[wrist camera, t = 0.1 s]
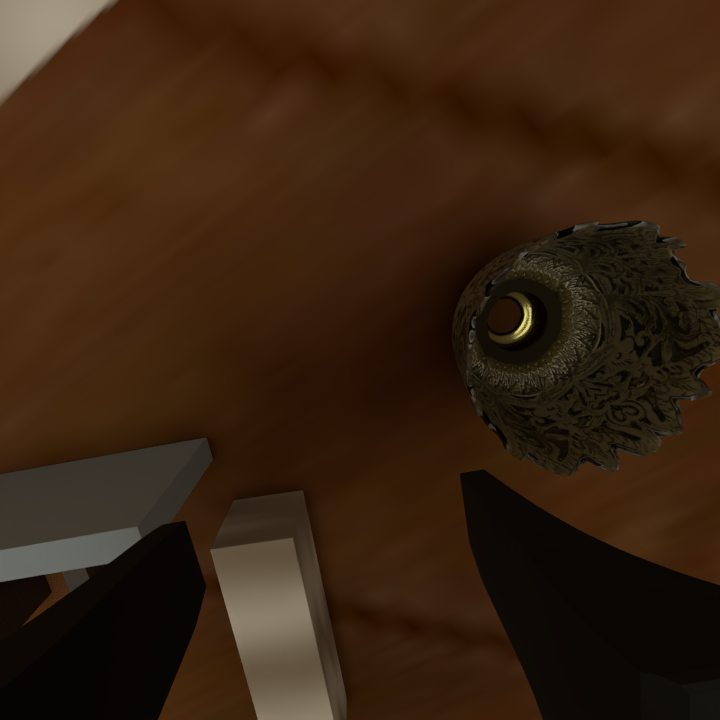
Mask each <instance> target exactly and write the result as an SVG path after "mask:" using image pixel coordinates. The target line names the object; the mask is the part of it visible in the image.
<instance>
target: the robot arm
mask: <svg viewBox="0 0 720 720" xmlns="http://www.w3.org/2000/svg"><path fill="white" fill-rule="evenodd" d="M460 477H461V484H462V492H463V499H464V506H465V514H466V521H467V528H468V536H469V542H470V546H471V549H472V552H473V555H474V558H475V561H476V564H477V567H478V570H479V573H480V576H481V579H482V581H483V583H484V586H485V588H486V590H487V592H488V594H489V596H490V599H491V601H492V603H493V605H494V607H495V609H496V612H497V614H498V616H499V618H500V620H501V622H502V624H503V627H504V629H505V631H506V633H507V635H508V637H509V639H510V642H511V644H512V646H513V648H514V650H515V652H516V655H517V657H518V659H519V661H520V663H521V665H522V667H523V670H524V672H525V674H526V677H527V679H528V681H529V684H530V686H531V689H532V691H533V693H534V696H535V699H536V702H537V704H538V707H539V710H540V712H541V715H542V718H543V720H720V585H717V584H713V583H710V582H707V581H703V580H700V579H697V578H694V577H691V576H688V575H685V574H682V573H679V572H676V571H673V570H671V569H668V568H665V567H663V566H660V565H657V564H655V563H652V562H650V561H647V560H644V559H642V558H639V557H636V556H634V555H632V554H629V553H627V552H625V551H622V550H620V549H618V548H615V547H613V546H611V545H609V544H607V543H605V542H603V541H600V540H598V539H596V538H594V537H592V536H590V535H588V534H586V533H584V532H582V531H580V530H578V529H576V528H574V527H572V526H571V525H569V524H567V523H565V522H563V521H562V520H560V519H558V518H556V517H555V516H553V515H551V514H549V513H548V512H546V511H545V510H543V509H541V508H540V507H538V506H536V505H535V504H533V503H532V502H530V501H529V500H527V499H526V498H524V497H523V496H521V495H520V494H518V493H517V492H515V491H514V490H512V489H511V488H509V487H508V486H507V485H505V484H504V483H502V482H501V481H499V480H498V479H497V478H495V477H494V476H492V475H491V474H490V473H488V472H487V471H485V470H478V471H473V472H467V473H461V474H460ZM205 589H206V584H205V581H204V578H203V575H202V572H201V569H200V565H199V562H198V559H197V556H196V553H195V550H194V547H193V544H192V541H191V538H190V535H189V532H188V528H187V525H186V522H185V521H181V522H175V523H169V524H163V525H161V526H159V527H158V528H156V529H155V530H153V531H152V532H150V533H149V534H147V535H146V536H144V537H143V538H142V539H140V540H139V541H138V542H136V543H135V544H134V545H132V546H131V547H130V548H128V549H127V550H126V551H124V552H123V553H122V554H121V555H119V556H118V557H117V558H115V559H114V560H113V561H111V562H110V563H109V564H108V565H106V566H105V567H104V568H102V569H101V570H100V571H98V572H97V573H96V574H95V575H93V576H92V577H91V578H89V579H88V580H87V581H85V582H84V583H83V584H81V585H80V586H78V587H77V588H76V589H74V590H73V591H72V592H70V593H69V594H67V595H66V596H65V597H63V598H62V599H61V600H59V601H58V602H56V603H55V604H54V605H52V606H51V607H50V608H48V609H47V610H45V611H44V612H43V613H41V614H40V615H38V616H37V617H35V618H34V619H33V620H31V621H30V622H28V623H27V624H25V625H24V626H22V627H21V628H19V629H18V630H16V631H15V632H13V633H11V634H10V635H8V636H7V637H5V638H4V639H2V640H0V720H158V718H159V715H160V713H161V710H162V708H163V706H164V703H165V701H166V698H167V696H168V693H169V691H170V689H171V686H172V684H173V681H174V679H175V676H176V674H177V672H178V669H179V667H180V664H181V662H182V659H183V657H184V654H185V652H186V649H187V647H188V644H189V642H190V639H191V637H192V634H193V632H194V629H195V627H196V623H197V620H198V616H199V613H200V609H201V605H202V601H203V597H204V593H205Z"/></svg>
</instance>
